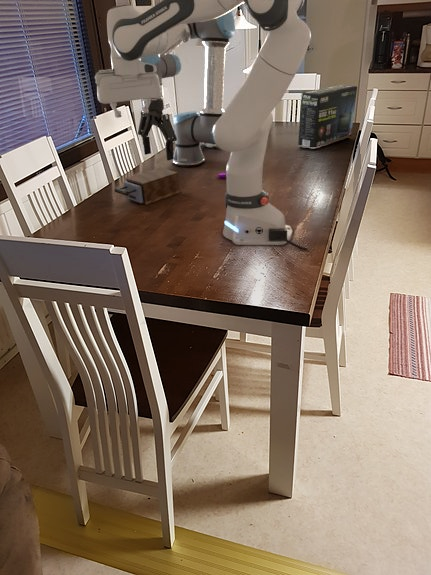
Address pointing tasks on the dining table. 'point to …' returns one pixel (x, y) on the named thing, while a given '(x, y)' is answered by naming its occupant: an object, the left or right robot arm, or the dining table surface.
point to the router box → (326, 115)
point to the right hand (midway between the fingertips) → (132, 115)
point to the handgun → (222, 175)
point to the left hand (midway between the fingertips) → (158, 156)
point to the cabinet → (157, 184)
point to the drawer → (132, 191)
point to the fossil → (209, 145)
